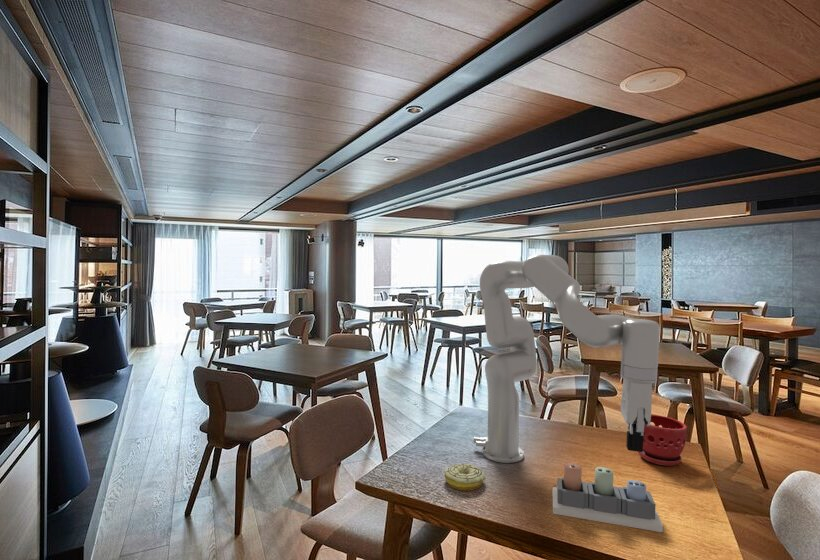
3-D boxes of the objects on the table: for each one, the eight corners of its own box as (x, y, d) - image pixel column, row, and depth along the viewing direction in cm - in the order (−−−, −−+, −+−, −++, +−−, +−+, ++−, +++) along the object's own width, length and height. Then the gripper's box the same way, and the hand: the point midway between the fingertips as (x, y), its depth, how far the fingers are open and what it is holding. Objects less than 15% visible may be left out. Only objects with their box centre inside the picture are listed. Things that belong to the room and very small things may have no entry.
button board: (552, 513, 102) (553, 492, 102) (552, 492, 111) (552, 473, 111) (662, 532, 95) (663, 510, 95) (652, 508, 104) (652, 488, 104)
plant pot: (661, 472, 123) (662, 430, 123) (626, 453, 136) (627, 415, 135) (696, 466, 127) (697, 426, 126) (659, 448, 139) (660, 411, 139)
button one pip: (563, 489, 104) (564, 468, 104) (563, 481, 108) (563, 461, 108) (581, 492, 103) (582, 470, 102) (580, 484, 106) (581, 463, 106)
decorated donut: (492, 482, 117) (492, 469, 117) (469, 498, 109) (469, 483, 109) (460, 470, 124) (460, 457, 124) (437, 483, 116) (437, 469, 116)
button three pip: (628, 508, 100) (628, 486, 99) (625, 499, 103) (625, 478, 103) (647, 511, 98) (648, 489, 98) (643, 502, 102) (644, 480, 102)
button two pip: (595, 494, 102) (595, 472, 102) (593, 486, 106) (594, 465, 105) (614, 497, 100) (614, 475, 100) (611, 488, 104) (612, 467, 104)
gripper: (616, 363, 108) (612, 435, 109) (626, 379, 94) (621, 461, 95) (649, 366, 106) (645, 439, 107) (665, 383, 92) (660, 467, 93)
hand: (634, 449), depth 101 cm, fingers closed
